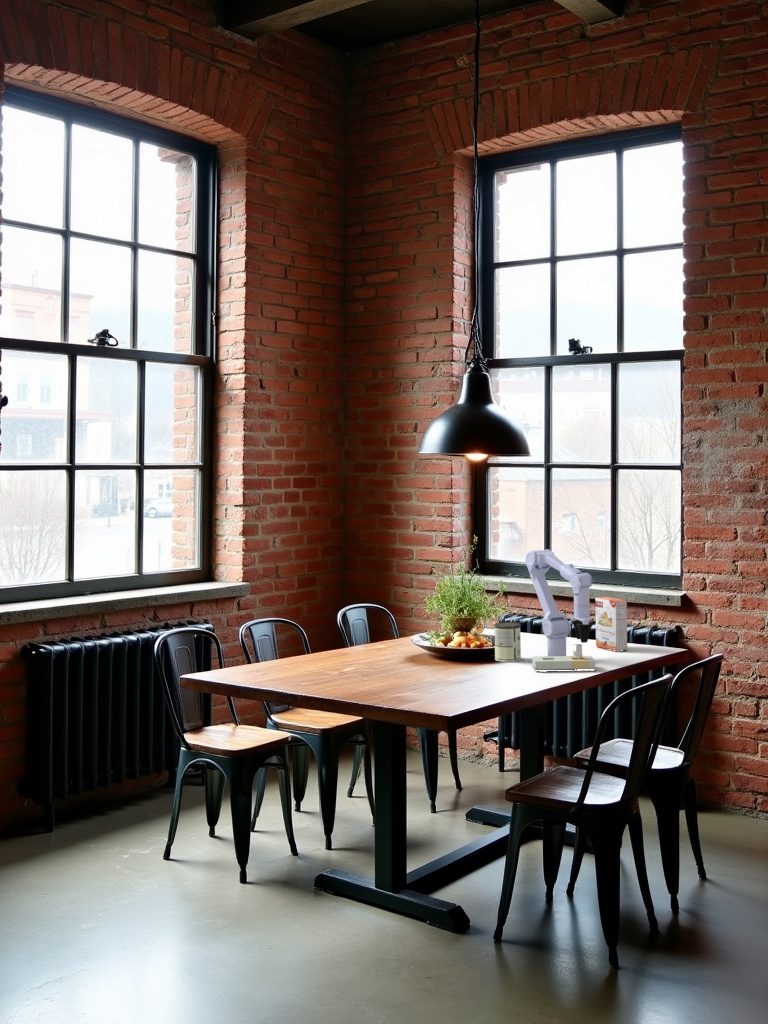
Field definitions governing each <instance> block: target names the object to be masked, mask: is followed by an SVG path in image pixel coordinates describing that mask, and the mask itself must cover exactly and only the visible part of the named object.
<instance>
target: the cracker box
mask: <svg viewBox="0 0 768 1024" xmlns="http://www.w3.org/2000/svg"><path fill="white" fill-rule="evenodd" d="M596 646H597V647H596ZM595 647H596V648H599V647H602V648H601V649H603V648H606V649H605V650H607V649H611V650H615V651H621V650H627V651H628V602H627V600H626V599H620V598H616V597H615V598H614V597H610V596H598V597H595ZM611 650H610V651H611ZM621 652H622V651H621Z"/></svg>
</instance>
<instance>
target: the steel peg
mask: <svg viewBox="0 0 768 1024" xmlns="http://www.w3.org/2000/svg"><path fill="white" fill-rule="evenodd" d="M572 646H573V647H572V649H573V656H574V660H577V659H582V656H583V644H581V643H578V644H576V643H575V644H573V645H572Z"/></svg>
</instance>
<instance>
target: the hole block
mask: <svg viewBox="0 0 768 1024" xmlns="http://www.w3.org/2000/svg"><path fill="white" fill-rule="evenodd" d="M533 667H534V669H535V670H575V669H576V670H577V669H595V670H596V659H595V658H594V657H593V656H591V655H582V659H577V660H574V655H566V656H548V655H544V656H538V655H537V656H532V668H533ZM534 669H533V670H534ZM535 670H534V671H535Z"/></svg>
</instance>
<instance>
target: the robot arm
mask: <svg viewBox="0 0 768 1024" xmlns="http://www.w3.org/2000/svg"><path fill="white" fill-rule="evenodd" d="M524 561H525V562H524V563H525V565H526V568H527V569H528V573H529V576H530V579H531V582H532V585H533V587H534V590H535V592H536V595H537V598H538V601H539V603H540V605H541V609H542V611H543V614H544V616H543V618H542V620H541V625H542V631H543V634H544V636H545V638H547V656H567V638H568V635H569V634H570V632H571V623H572V624H573V625H572V626H573V628H574V631H575V636H576V640H580V642H581V643H586V644H587V643H588V641H589V635H590V632H591V630H592V628H593V624H591V623H590V622H589V621H590V619H591V616H590V588H591V586H592V585H593V577H592V575H591V574H590V573H589V572H582V571H581V570H580V569H578V568H577V567H575V566H574V564H573V563H564V562H563V561H562V560H561V559H559V557H557V556H556V555H555V553H554V551H552V550H550V549H547V548H546V549H541V550H538V549H537V550H529V551H528V552H527V553H526V555H525V560H524ZM550 567H551V568H553V569H554V570H557V571H558V572H559V573H560V576H561V577H562V578H564V579H565V580H566V581H567V582H569V584H570V586H571V588H572V593H573V616H570V619H571V623H570V622H569V620H568V619H567V618H566V615H565V614H564V613H562V612H561V611H559V609H558V606H557V604H556V602H555V599H554V596H553V594H552V592H551V588H550V587H549V586H550V585H549V584H548V580H547V579H546V573H547V572H548V571H549V570H550Z"/></svg>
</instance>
